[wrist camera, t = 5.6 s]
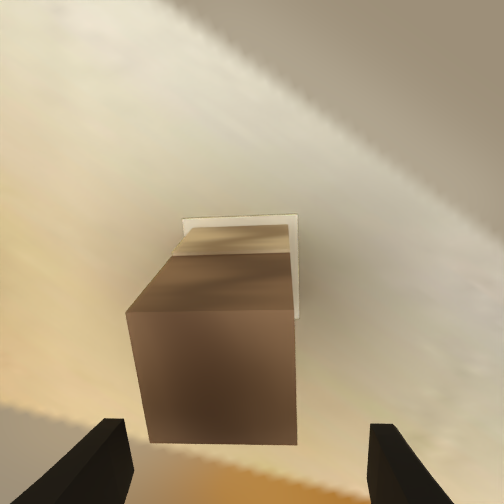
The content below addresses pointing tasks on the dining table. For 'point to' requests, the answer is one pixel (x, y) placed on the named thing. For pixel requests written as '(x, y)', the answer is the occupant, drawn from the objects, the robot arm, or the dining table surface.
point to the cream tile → (259, 220)
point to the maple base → (234, 240)
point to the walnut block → (217, 350)
